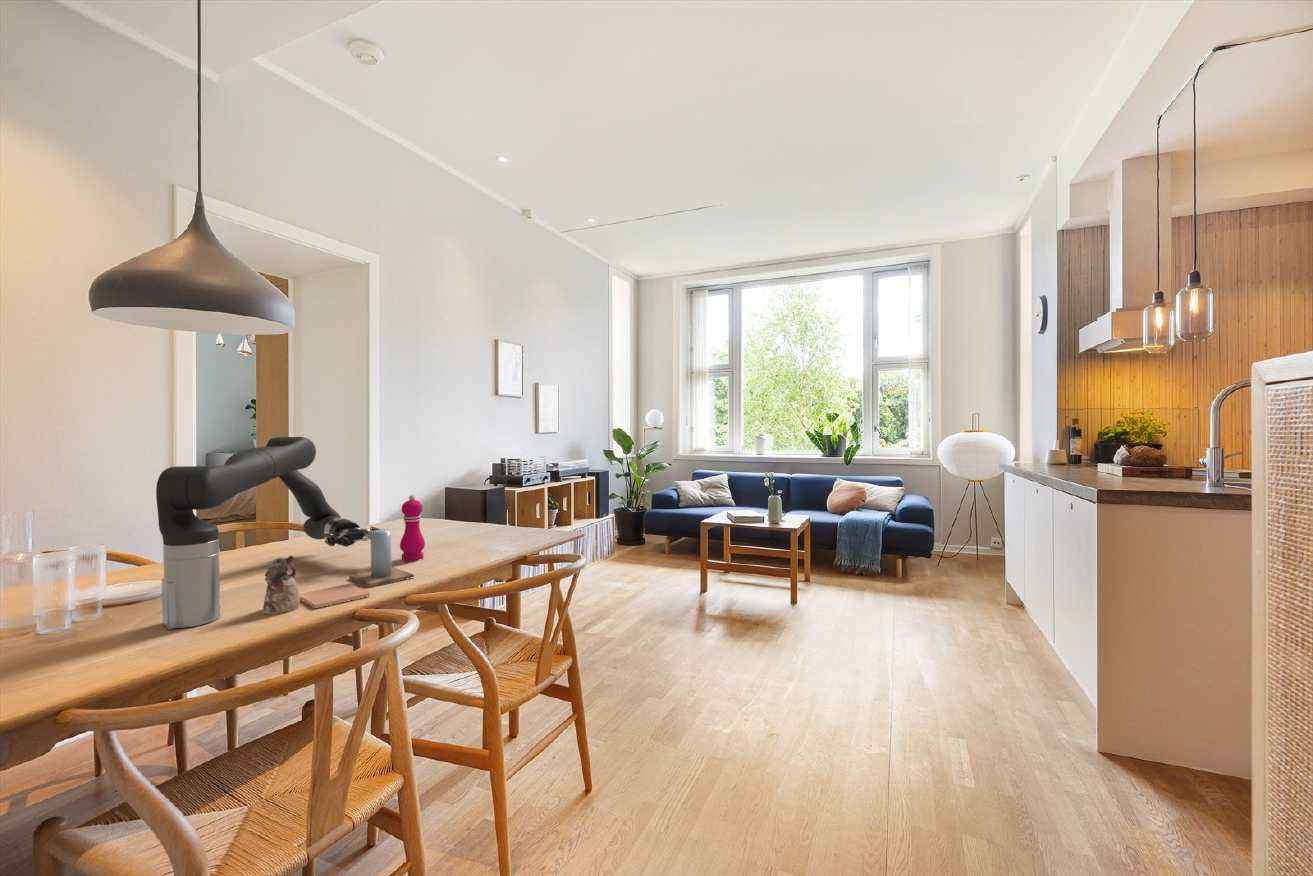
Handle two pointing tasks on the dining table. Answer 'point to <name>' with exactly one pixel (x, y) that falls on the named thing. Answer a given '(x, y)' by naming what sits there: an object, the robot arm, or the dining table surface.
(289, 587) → the figurine
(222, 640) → the dining table surface
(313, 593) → the terracotta tile
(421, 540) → the pepper mill
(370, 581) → the walnut board
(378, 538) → the canister
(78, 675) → the dining table surface
